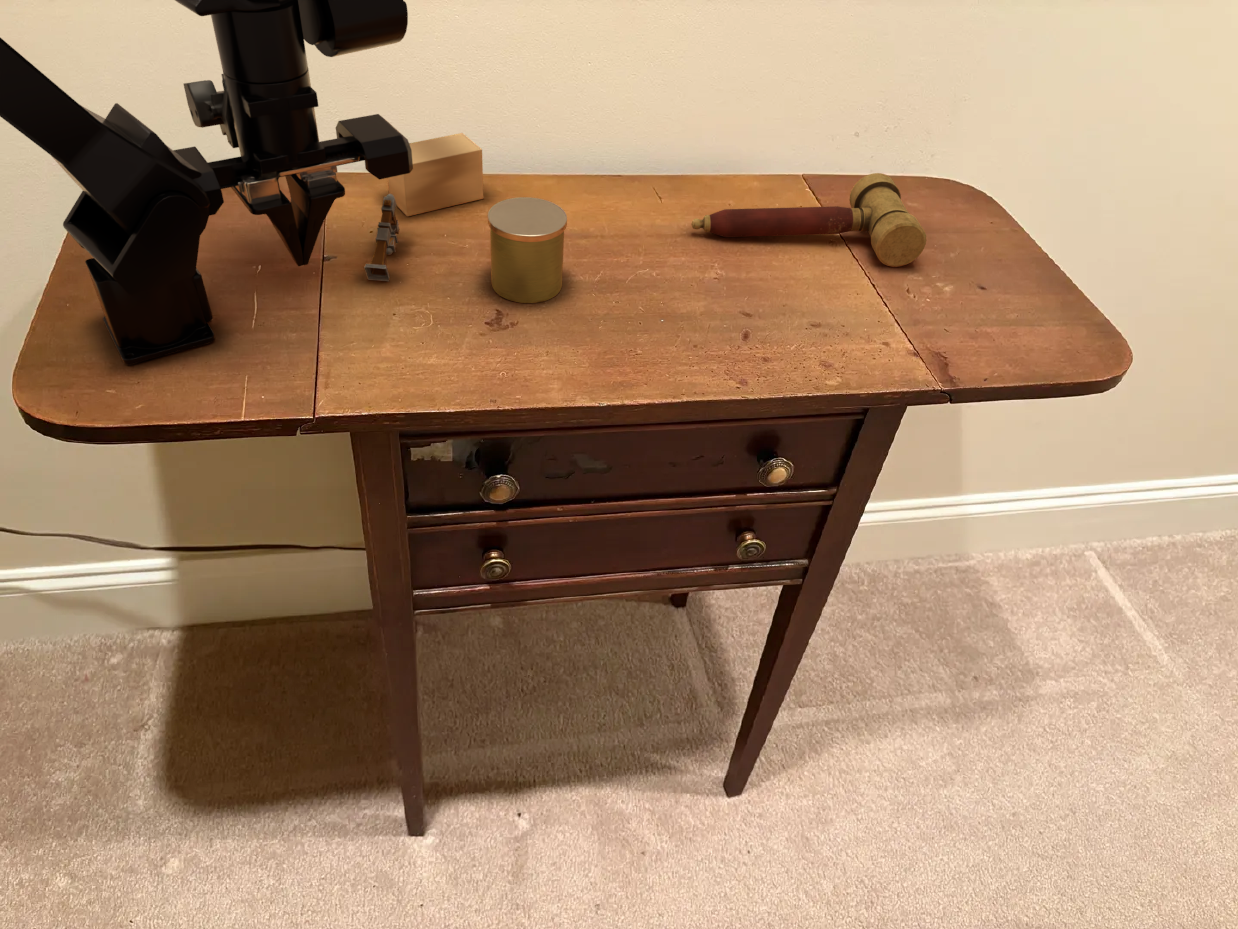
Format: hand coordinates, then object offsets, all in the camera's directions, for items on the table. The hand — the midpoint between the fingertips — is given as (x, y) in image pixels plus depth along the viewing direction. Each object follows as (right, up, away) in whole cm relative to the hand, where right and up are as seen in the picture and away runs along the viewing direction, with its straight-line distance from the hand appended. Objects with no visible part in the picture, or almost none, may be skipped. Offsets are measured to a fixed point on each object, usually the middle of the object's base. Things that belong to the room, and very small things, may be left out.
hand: (301, 263), depth 75 cm
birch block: (+9, +9, +13) cm, 18 cm away
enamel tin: (+18, -1, +3) cm, 19 cm away
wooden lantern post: (+6, +1, +5) cm, 7 cm away
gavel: (+43, +5, +13) cm, 45 cm away
